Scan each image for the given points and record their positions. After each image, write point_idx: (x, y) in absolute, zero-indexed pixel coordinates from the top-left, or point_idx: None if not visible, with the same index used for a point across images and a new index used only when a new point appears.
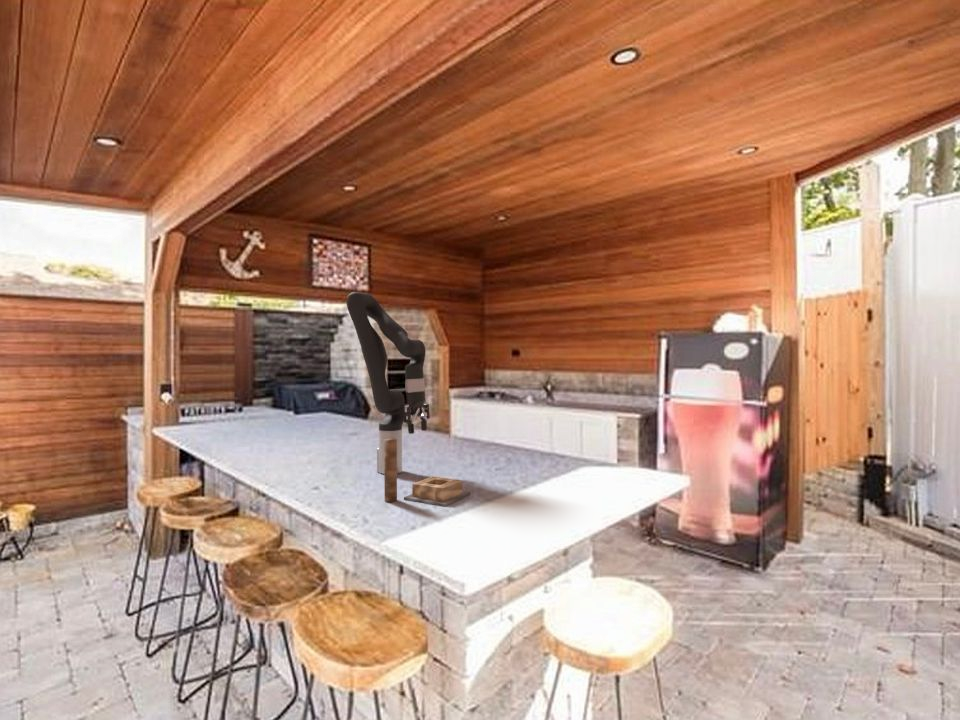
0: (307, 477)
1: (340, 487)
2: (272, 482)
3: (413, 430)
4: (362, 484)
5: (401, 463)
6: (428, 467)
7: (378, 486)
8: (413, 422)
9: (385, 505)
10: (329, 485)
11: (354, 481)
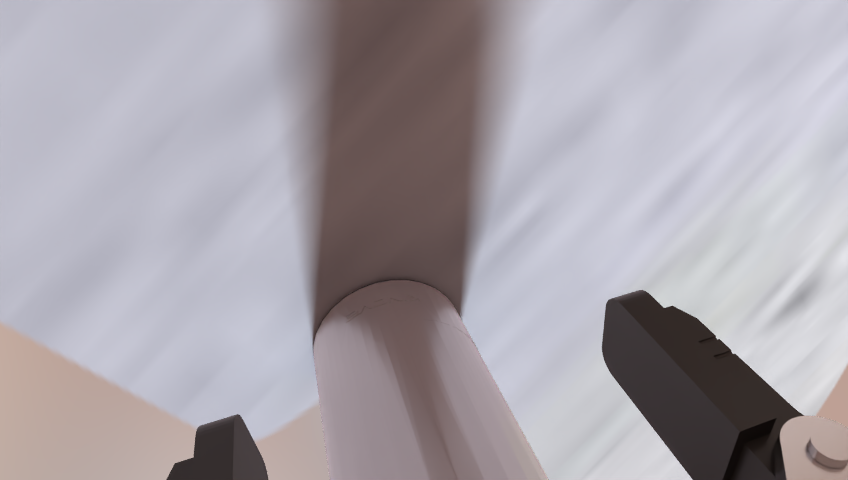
0: (670, 459)
1: (763, 240)
2: None
3: (660, 320)
4: (683, 215)
5: (362, 330)
6: (73, 298)
7: (687, 112)
8: (785, 450)
9: None
10: (748, 302)
11: (649, 292)
